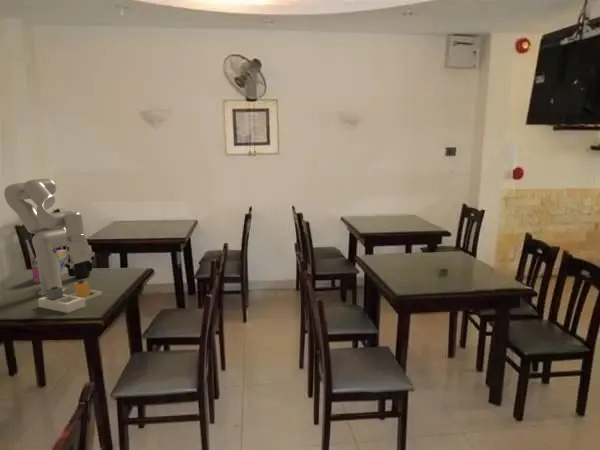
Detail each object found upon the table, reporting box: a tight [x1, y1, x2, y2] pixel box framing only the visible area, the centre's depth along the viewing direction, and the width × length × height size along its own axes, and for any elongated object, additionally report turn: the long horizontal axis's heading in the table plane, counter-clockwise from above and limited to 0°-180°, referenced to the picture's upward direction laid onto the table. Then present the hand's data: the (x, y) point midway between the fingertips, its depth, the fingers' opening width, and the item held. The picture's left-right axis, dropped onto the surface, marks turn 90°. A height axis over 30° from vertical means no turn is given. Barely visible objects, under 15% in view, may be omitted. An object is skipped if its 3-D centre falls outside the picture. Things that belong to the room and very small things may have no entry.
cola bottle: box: [73, 238, 91, 279], centre depth 257 cm, size 8×8×30 cm
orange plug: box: [73, 279, 91, 298], centre depth 221 cm, size 4×4×9 cm
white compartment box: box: [37, 293, 87, 314], centre depth 210 cm, size 23×9×6 cm, turn 63°
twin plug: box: [46, 286, 64, 301], centre depth 211 cm, size 4×4×9 cm
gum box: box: [30, 248, 74, 283], centre depth 263 cm, size 24×8×14 cm, turn 168°
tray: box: [69, 289, 103, 302], centre depth 221 cm, size 11×13×3 cm
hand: (80, 273), depth 219 cm, fingers open, 9 cm apart
